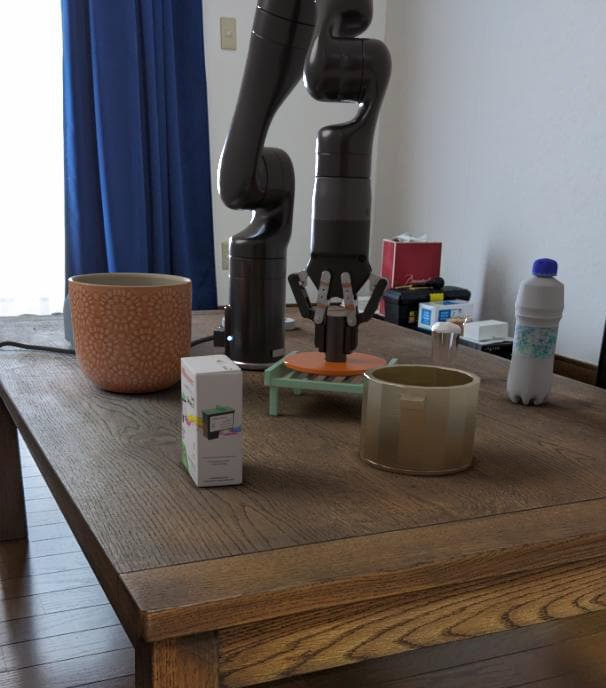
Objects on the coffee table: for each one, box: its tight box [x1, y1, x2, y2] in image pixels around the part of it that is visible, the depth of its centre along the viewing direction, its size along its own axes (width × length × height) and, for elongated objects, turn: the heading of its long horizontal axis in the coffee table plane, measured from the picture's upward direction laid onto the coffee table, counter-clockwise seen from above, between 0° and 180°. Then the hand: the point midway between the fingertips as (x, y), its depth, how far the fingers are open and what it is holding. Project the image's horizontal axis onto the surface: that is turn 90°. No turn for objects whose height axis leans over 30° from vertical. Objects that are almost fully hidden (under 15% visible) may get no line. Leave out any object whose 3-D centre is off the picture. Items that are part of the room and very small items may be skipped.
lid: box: [284, 312, 388, 378], centre depth 120 cm, size 14×14×7 cm
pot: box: [359, 363, 482, 477], centre depth 100 cm, size 13×18×10 cm
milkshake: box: [430, 317, 469, 369], centre depth 140 cm, size 5×5×10 cm
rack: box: [263, 350, 399, 417], centre depth 122 cm, size 15×15×6 cm
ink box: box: [180, 354, 244, 488], centre depth 92 cm, size 8×5×12 cm, turn 17°
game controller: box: [221, 316, 296, 331], centre depth 182 cm, size 15×13×2 cm
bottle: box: [506, 257, 565, 406], centre depth 127 cm, size 7×7×20 cm
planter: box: [67, 272, 193, 394], centre depth 128 cm, size 17×17×15 cm
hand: (335, 351), depth 120 cm, fingers closed on lid, 3 cm apart
